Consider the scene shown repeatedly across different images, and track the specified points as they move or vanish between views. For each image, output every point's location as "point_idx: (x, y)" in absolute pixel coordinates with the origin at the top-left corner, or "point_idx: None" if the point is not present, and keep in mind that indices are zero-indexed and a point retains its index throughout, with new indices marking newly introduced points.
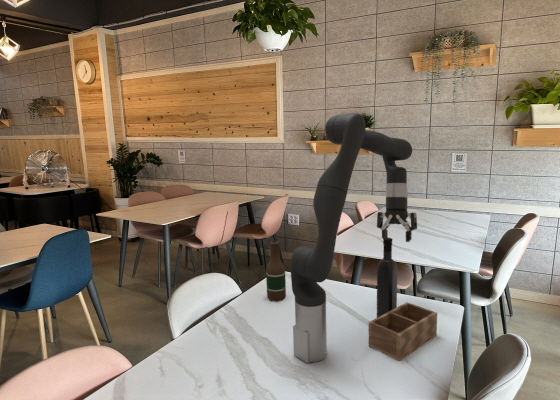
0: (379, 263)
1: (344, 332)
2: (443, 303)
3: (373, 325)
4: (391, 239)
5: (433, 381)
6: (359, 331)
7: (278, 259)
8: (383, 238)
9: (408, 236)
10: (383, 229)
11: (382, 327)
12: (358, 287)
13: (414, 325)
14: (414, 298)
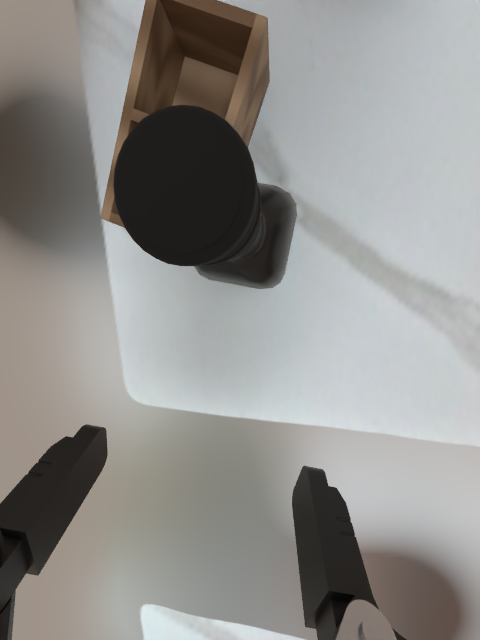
0: (284, 197)
1: (352, 121)
2: (160, 401)
3: (248, 15)
4: (115, 166)
5: (98, 6)
6: (313, 151)
7: None
8: (249, 168)
9: (46, 472)
10: (353, 609)
11: (214, 4)
12: (385, 425)
13: (131, 86)
14: (225, 405)
